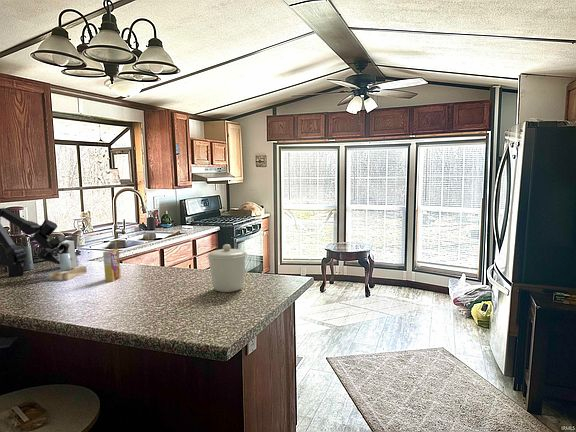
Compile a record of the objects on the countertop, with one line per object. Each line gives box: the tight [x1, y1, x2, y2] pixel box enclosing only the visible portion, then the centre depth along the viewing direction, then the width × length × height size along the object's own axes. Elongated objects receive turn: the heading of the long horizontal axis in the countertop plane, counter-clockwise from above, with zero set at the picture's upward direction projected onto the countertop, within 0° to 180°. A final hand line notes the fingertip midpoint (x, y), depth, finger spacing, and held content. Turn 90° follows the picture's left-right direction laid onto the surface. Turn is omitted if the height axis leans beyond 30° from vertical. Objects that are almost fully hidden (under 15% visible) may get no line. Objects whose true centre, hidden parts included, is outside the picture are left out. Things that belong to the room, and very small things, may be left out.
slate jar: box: [59, 253, 71, 271], centre depth 214 cm, size 5×5×12 cm
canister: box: [206, 243, 248, 293], centre depth 184 cm, size 18×18×21 cm
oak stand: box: [49, 265, 88, 281], centre depth 214 cm, size 10×16×4 cm, turn 174°
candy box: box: [102, 248, 122, 283], centre depth 205 cm, size 9×4×15 cm, turn 177°
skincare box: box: [57, 239, 77, 268], centre depth 236 cm, size 8×7×16 cm
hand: (65, 261), depth 214 cm, fingers open, 9 cm apart
